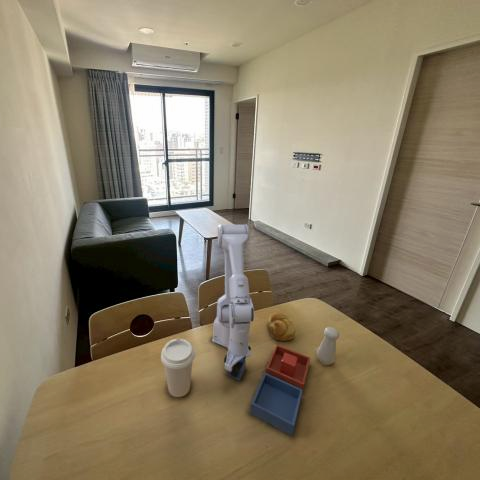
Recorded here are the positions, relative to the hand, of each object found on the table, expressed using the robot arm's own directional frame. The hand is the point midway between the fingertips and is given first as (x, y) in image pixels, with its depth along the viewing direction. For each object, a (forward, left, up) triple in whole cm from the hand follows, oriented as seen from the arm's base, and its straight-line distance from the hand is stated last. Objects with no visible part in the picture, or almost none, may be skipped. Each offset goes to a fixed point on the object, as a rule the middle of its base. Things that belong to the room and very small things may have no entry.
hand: (236, 370), depth 80 cm
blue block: (0, 0, -1) cm, 1 cm away
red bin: (+14, +9, -2) cm, 17 cm away
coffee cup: (-13, -13, -2) cm, 18 cm away
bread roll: (+7, +26, -2) cm, 27 cm away
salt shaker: (+24, +20, -2) cm, 31 cm away
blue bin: (+14, -4, -2) cm, 15 cm away
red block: (+14, +9, -1) cm, 17 cm away
